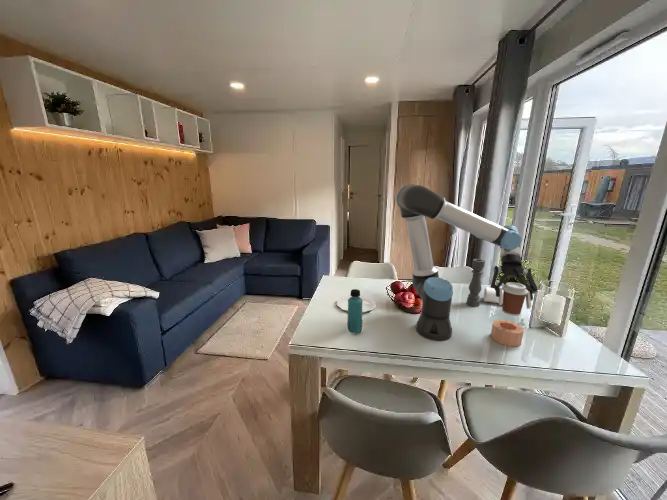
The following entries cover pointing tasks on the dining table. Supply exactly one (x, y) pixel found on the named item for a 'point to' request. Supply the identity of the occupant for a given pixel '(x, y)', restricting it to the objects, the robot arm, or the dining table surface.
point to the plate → (365, 299)
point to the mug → (491, 295)
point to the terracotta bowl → (507, 332)
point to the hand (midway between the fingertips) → (514, 305)
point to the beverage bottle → (355, 312)
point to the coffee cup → (513, 298)
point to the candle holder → (475, 283)
